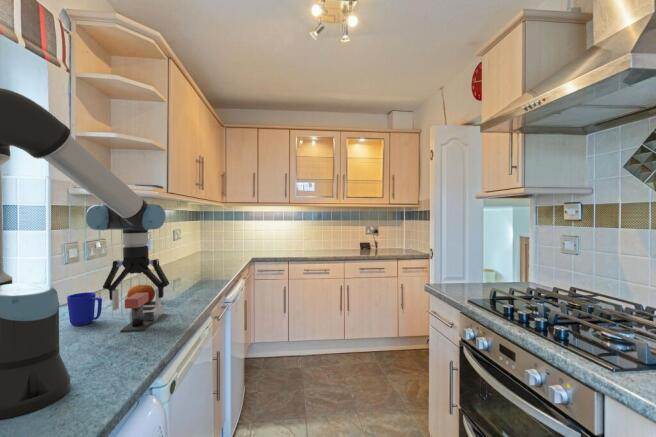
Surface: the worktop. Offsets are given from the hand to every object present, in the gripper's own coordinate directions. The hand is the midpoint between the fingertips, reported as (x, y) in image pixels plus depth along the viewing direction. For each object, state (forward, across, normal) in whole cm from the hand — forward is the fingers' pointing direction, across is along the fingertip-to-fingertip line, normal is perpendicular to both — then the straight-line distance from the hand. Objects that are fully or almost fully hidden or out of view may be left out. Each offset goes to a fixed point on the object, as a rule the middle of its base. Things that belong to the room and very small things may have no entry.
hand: (137, 308), depth 117 cm
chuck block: (+6, 0, -10) cm, 12 cm away
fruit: (+7, +10, -31) cm, 33 cm away
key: (+6, 0, 0) cm, 6 cm away
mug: (+6, +20, -7) cm, 22 cm away
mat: (+6, 0, 0) cm, 6 cm away
